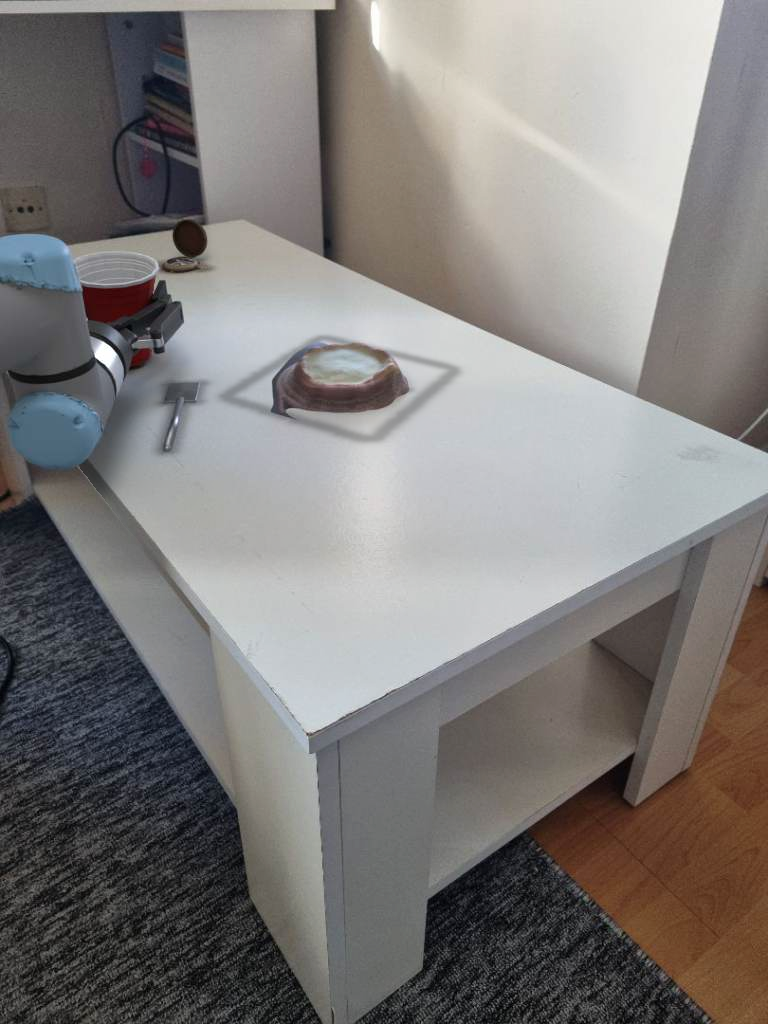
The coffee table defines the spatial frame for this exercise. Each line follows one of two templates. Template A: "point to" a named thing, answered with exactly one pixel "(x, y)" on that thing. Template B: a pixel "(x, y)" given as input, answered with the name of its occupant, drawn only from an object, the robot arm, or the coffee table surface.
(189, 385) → the metal spatula
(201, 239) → the compass
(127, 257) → the plastic cup
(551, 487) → the coffee table surface
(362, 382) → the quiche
